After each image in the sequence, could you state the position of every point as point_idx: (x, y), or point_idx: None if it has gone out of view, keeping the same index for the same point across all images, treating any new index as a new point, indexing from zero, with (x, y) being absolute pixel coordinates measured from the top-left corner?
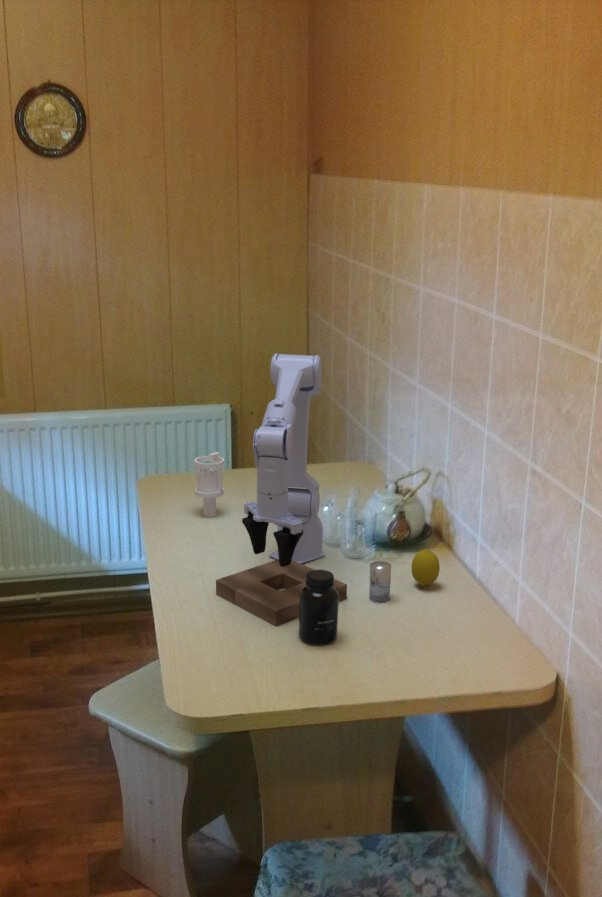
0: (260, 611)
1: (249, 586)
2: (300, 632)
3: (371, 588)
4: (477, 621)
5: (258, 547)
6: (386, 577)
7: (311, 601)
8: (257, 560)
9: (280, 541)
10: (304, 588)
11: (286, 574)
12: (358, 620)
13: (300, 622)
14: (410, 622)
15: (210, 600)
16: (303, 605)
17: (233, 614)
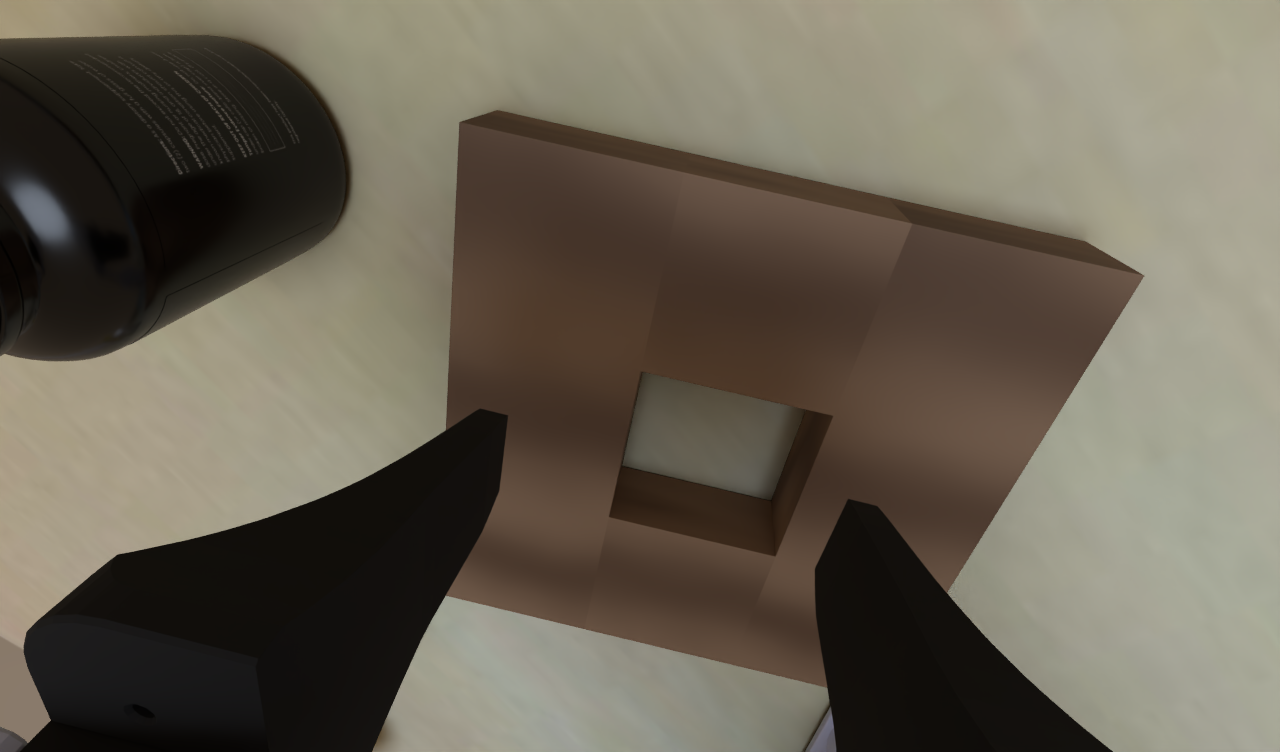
0: (632, 147)
1: (847, 324)
2: (243, 54)
3: None
4: (52, 599)
5: (849, 564)
6: None
7: None
8: (1056, 662)
9: (231, 550)
10: (5, 158)
11: (748, 554)
12: (283, 409)
13: (198, 59)
14: (155, 495)
15: (1078, 143)
16: (26, 48)
17: (814, 70)
